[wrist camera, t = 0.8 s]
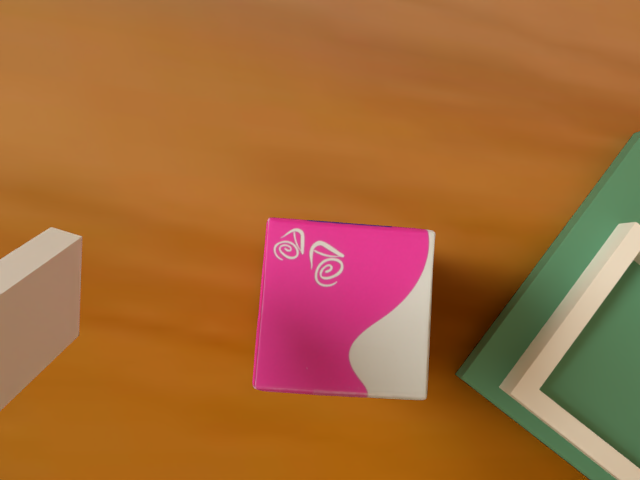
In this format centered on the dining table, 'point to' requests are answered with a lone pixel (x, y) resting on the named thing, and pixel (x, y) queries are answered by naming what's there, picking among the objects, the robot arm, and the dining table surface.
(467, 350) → the dining table surface
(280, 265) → the supplement box
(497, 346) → the socket board
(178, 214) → the dining table surface
